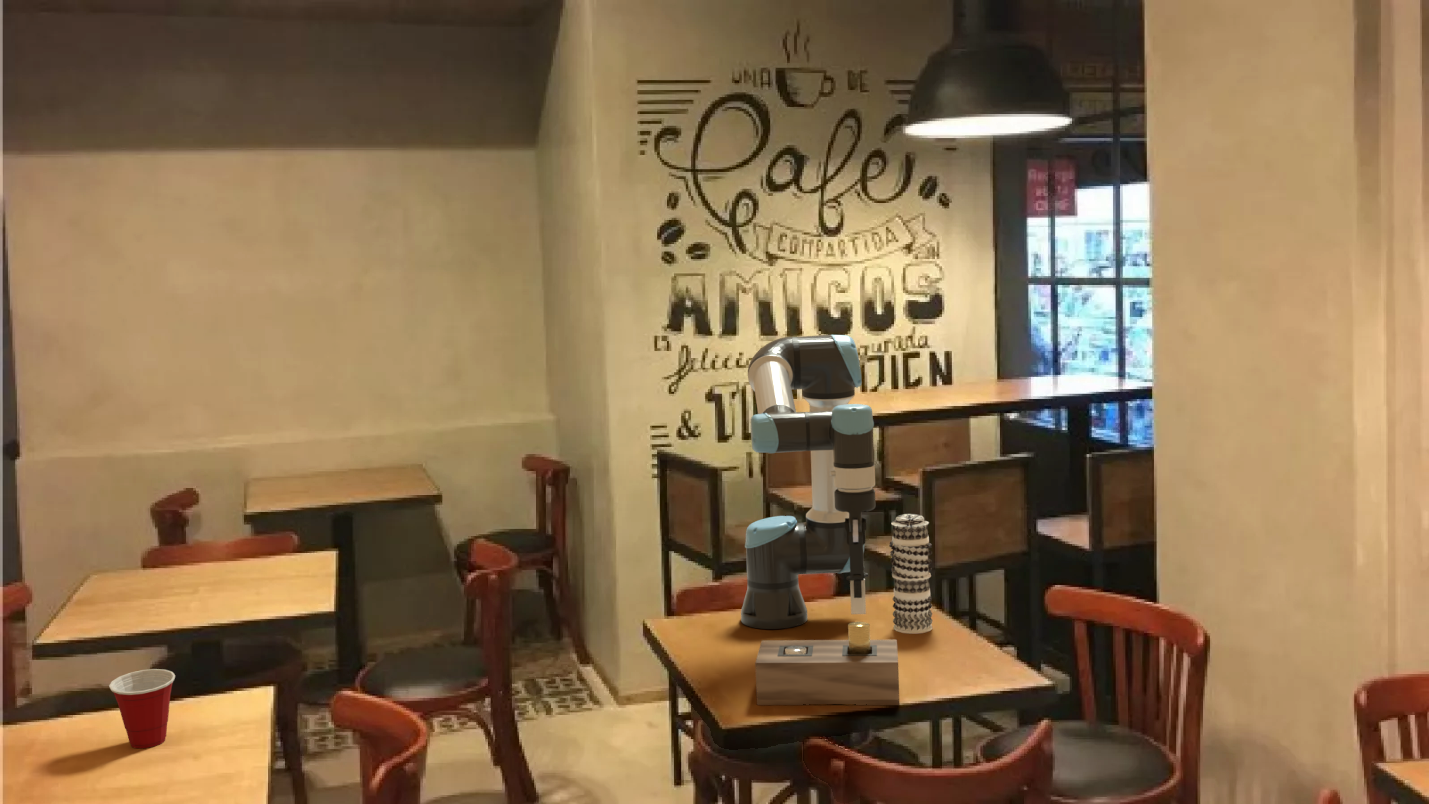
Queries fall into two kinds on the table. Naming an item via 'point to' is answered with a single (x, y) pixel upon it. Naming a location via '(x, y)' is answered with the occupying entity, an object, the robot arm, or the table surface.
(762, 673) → the walnut block
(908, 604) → the white patterned cylinder
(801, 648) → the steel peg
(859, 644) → the brass peg
